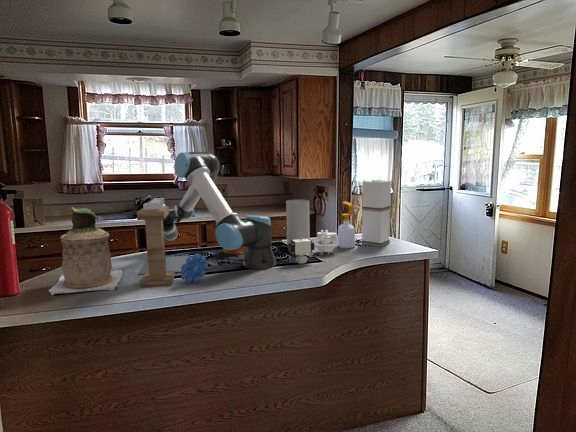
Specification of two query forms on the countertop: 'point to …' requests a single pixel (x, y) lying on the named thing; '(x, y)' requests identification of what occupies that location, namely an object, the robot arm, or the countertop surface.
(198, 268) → the grapes
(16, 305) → the countertop surface
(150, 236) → the stand
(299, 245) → the pneumatic valve
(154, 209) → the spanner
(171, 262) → the rubber mat
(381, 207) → the white lidded square box
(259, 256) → the robot arm
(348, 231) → the soap bottle
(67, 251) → the cookie jar
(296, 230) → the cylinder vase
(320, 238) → the mechanical part
